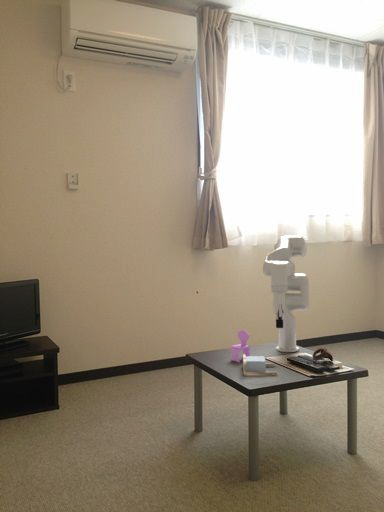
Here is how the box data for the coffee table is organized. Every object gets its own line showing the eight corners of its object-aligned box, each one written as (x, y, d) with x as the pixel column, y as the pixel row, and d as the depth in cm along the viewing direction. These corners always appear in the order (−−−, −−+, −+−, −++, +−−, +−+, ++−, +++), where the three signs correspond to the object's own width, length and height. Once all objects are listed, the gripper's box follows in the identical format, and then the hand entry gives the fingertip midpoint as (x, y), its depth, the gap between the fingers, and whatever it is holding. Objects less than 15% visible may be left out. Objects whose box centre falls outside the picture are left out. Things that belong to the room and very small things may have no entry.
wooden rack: (243, 365, 234) (242, 353, 234) (274, 366, 233) (274, 353, 232) (243, 375, 218) (243, 362, 218) (277, 375, 217) (277, 363, 217)
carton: (245, 368, 230) (245, 356, 230) (264, 368, 230) (264, 356, 229) (246, 374, 221) (246, 361, 221) (265, 374, 221) (265, 361, 220)
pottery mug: (335, 367, 231) (326, 353, 230) (317, 373, 235) (309, 359, 234) (336, 354, 242) (328, 341, 241) (319, 361, 246) (311, 347, 245)
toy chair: (229, 359, 246) (228, 331, 245) (241, 356, 251) (241, 328, 250) (240, 363, 239) (239, 333, 238) (252, 360, 244) (252, 331, 244)
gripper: (269, 287, 230) (270, 324, 231) (272, 291, 215) (272, 331, 217) (285, 286, 230) (285, 324, 231) (289, 291, 215) (289, 331, 216)
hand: (279, 327), depth 224 cm, fingers closed
